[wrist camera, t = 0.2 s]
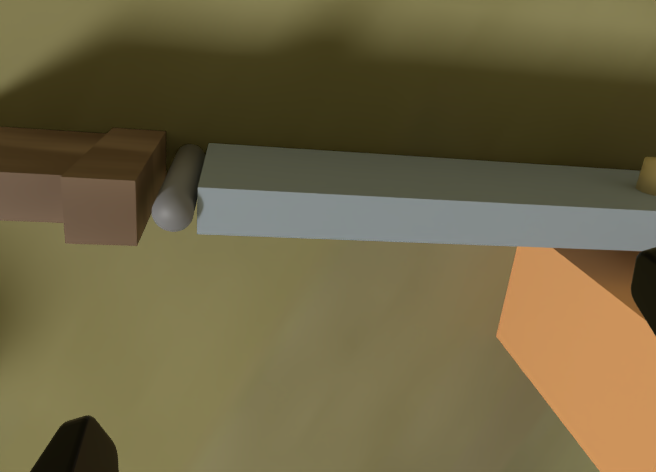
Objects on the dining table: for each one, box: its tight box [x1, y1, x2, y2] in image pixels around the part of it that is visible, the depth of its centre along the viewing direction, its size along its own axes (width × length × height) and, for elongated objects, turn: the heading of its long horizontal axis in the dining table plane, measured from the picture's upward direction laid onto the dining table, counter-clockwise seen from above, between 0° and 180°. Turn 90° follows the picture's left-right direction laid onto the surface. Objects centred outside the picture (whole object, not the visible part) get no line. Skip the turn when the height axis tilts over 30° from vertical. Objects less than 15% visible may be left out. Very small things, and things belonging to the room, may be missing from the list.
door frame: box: [0, 127, 166, 246], centre depth 22 cm, size 2×38×7 cm, turn 84°
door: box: [152, 143, 656, 251], centre depth 21 cm, size 3×21×6 cm, turn 84°
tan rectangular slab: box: [496, 246, 656, 472], centre depth 23 cm, size 6×4×11 cm
